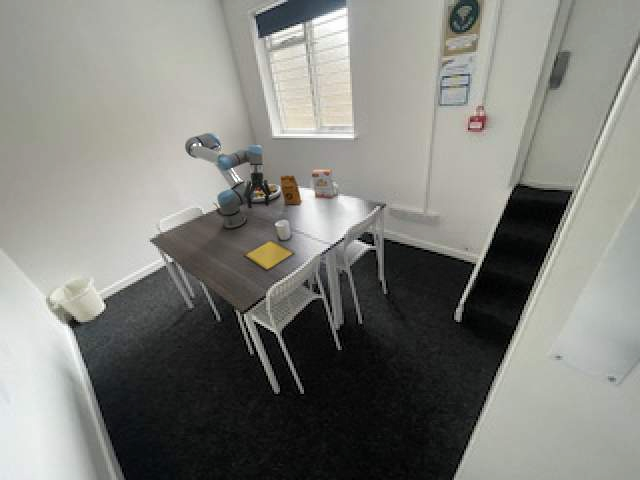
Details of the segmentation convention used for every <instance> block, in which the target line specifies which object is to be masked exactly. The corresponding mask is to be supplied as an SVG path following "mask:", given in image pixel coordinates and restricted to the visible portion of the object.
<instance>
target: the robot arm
mask: <svg viewBox="0 0 640 480" xmlns="http://www.w3.org/2000/svg"><path fill="white" fill-rule="evenodd" d="M184 149H185V152H186V153H187V154H188V155H189V156H190V157H191V158H194V159H202V160H204V161H207V162H209V163H212V164H214V165H215V167H216V168H217V170H218V171H219V173H220V174H221V176H222V177H223V178H224V180H225V181H226V183H227V184H228V185H229V187H230V188H229V189H226V190H223V191H221V192H220V193H219V194H218V195H217V197H216V198H217V202H218V205H219V206H218V205H217V203H215V202H213V205H215V206H216V209H217V211H218V212H219V214H220V215H222V216H223V226H224V228H225V229H232V230H233V229H237V228H240V227H242V226H243V225H245V224H246V222H247V219H246V216H244V214H243V212H241V209H240V207H241V206H243V205H245V204H247V208H248V209H251V210H252V209H253V205H252V203H253V202H252V201H251V200H252V199H253V198H254V196H255V192H254V190H255V189H256V188H261V189H262V191H263V192H264V193H265V202H264V206H265V207H269V206H270V203H269V201H270V200H269V196H270V194H271V191H270V189H269V186H268V185H269V184H268V180H267V179H264V168H263V167H264V165H263V150H262V146H261V145H249V146H248V149H238V150H236V152H233V153H230V154H226V153H223V152H222V151H221V150H222V143H221V140H220V138H219V137H218V135H216V134H215V133H213V132H207V133H203V134H199V135H196V136H191V137H189V138H188V139H187V140H186V141H185V145H184ZM247 163H249V171H250V180H247V181H246V182H245V180H242V179H241V178H240V177H239V175H238V174H237V172H236V171H235V170H234V169H235V168H236V167H238V166H241V165H244V164H247ZM264 186H265V187H264ZM219 208H220V209H219ZM220 210H221V211H220Z"/></svg>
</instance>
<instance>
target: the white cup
mask: <svg viewBox="0 0 640 480" xmlns="http://www.w3.org/2000/svg"><path fill="white" fill-rule="evenodd" d="M289 223H290V222H289V221H288V220H287V219H281V220H278V221H276V222H275V224H274V225H275V228H276V232H277V234H278V238H279V240H280V241H281V240H282V241H287V240H289V239H291V237H292V235H291V230H290V224H289Z"/></svg>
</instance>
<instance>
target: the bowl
mask: <svg viewBox="0 0 640 480" xmlns="http://www.w3.org/2000/svg"><path fill="white" fill-rule="evenodd" d="M268 186H269V189H270V191H271V194H270V196H269V201H272V200H274V199H276V198H277V197H278V196H279V195H281V193H282V189H281V185H278V184H268ZM264 187H265V186H264ZM254 192H255V196H254V198H253V199H252V200H251V201H252V203H265V193H264V192H263V191H262V189H261V188H256V189H255V190H254Z"/></svg>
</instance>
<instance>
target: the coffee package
mask: <svg viewBox="0 0 640 480" xmlns="http://www.w3.org/2000/svg"><path fill="white" fill-rule="evenodd" d="M279 177H280V188H281V193H282V196H283V201H284V205H299V204H300V203H301V202H302V200H301V199H302V198H301V193H300V190H299V185H298V183H297V180H296V178H295V176H294V175H280V176H279Z"/></svg>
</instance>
